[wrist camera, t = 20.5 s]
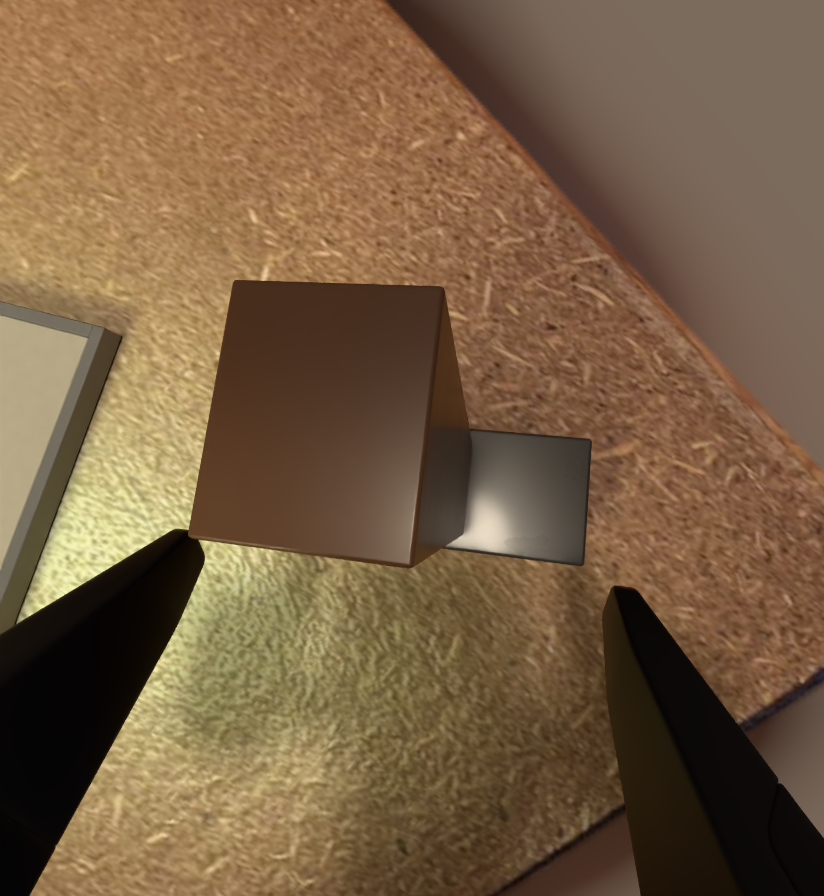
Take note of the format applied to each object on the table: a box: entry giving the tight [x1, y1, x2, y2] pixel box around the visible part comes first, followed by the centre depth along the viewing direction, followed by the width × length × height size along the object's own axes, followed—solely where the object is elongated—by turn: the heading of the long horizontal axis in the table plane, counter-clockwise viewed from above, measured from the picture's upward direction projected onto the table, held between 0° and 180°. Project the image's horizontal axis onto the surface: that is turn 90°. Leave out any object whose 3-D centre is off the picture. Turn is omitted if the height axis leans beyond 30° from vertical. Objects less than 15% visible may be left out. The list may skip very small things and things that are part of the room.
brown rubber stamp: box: [188, 280, 592, 569], centre depth 11 cm, size 4×10×13 cm, turn 83°
